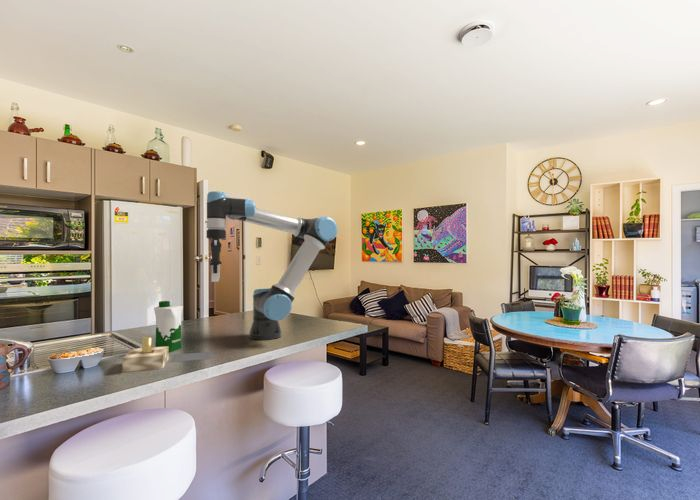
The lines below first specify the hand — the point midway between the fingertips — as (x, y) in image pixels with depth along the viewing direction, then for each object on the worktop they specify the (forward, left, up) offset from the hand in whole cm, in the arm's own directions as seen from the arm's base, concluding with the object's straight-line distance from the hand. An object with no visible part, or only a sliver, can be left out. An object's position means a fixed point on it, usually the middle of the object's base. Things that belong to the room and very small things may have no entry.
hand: (215, 280), depth 147 cm
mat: (+8, +9, -29) cm, 31 cm away
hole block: (+22, +15, -29) cm, 39 cm away
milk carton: (+18, -5, -29) cm, 34 cm away
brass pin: (+22, +15, -29) cm, 39 cm away
